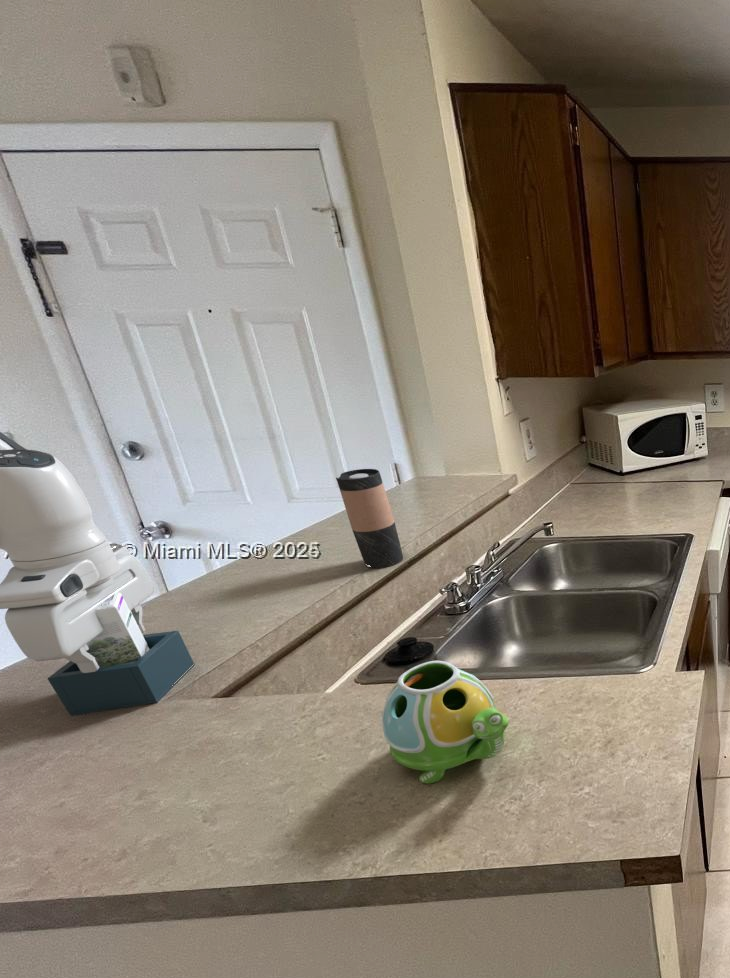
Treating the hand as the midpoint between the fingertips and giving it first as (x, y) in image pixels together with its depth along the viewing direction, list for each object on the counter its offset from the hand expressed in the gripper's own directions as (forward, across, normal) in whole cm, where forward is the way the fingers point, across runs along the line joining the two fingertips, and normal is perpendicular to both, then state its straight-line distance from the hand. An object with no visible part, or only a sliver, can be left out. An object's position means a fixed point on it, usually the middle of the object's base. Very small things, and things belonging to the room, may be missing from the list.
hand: (116, 651), depth 90 cm
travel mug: (+7, -40, +23) cm, 47 cm away
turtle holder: (+7, +29, +49) cm, 57 cm away
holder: (+7, 0, 0) cm, 7 cm away
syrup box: (+6, 0, 0) cm, 6 cm away
